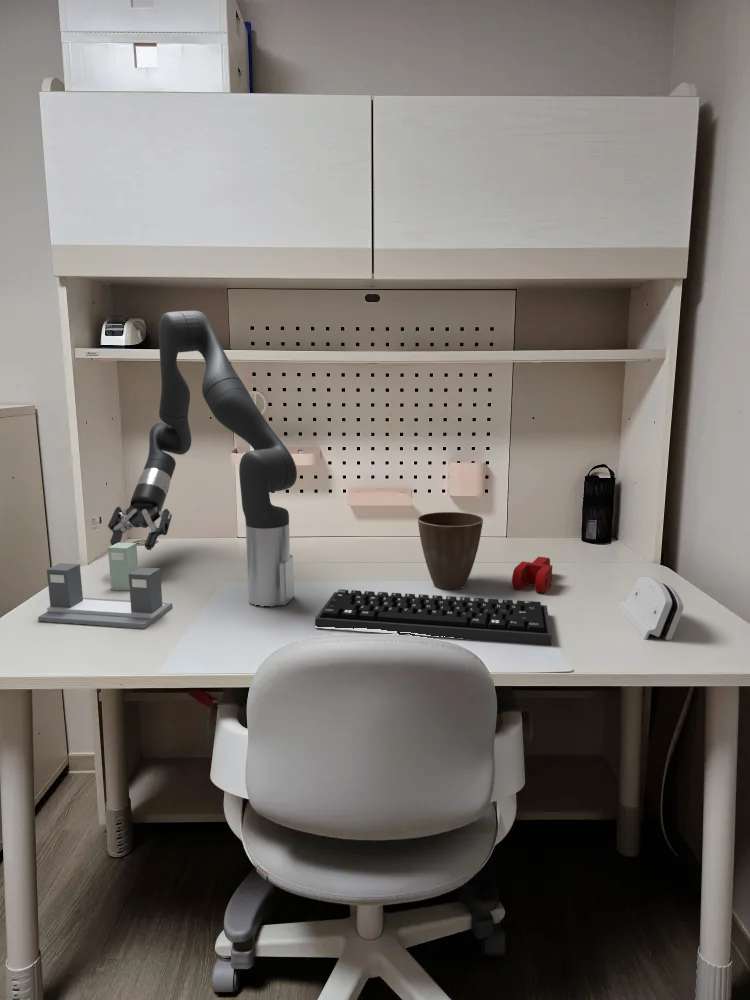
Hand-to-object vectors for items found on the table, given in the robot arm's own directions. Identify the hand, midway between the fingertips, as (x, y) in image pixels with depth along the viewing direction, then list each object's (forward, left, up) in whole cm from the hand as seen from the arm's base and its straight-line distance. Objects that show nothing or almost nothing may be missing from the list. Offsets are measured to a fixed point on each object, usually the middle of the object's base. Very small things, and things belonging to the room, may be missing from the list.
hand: (130, 547), depth 161 cm
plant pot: (-74, -10, -9) cm, 75 cm away
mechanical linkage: (-94, -16, -9) cm, 96 cm away
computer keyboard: (-73, +13, -9) cm, 74 cm away
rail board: (-6, +21, -8) cm, 23 cm away
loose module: (0, +4, -8) cm, 9 cm away
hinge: (-115, +7, -9) cm, 116 cm away
